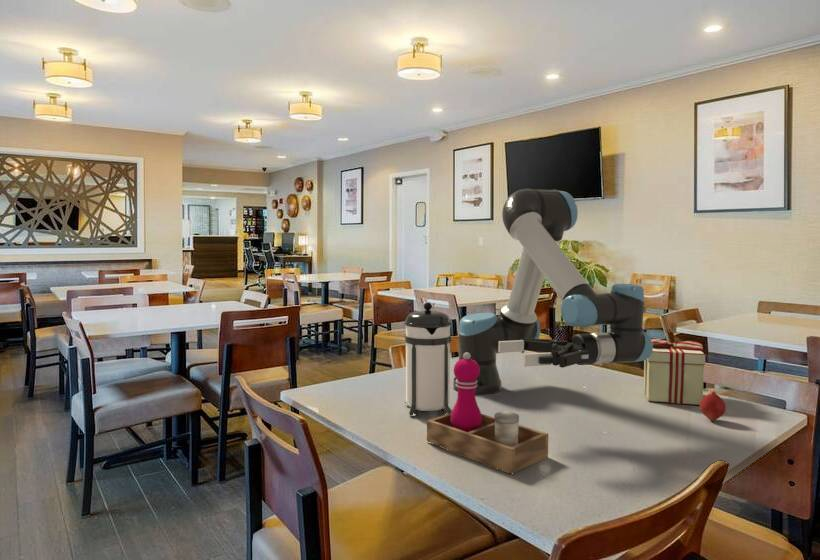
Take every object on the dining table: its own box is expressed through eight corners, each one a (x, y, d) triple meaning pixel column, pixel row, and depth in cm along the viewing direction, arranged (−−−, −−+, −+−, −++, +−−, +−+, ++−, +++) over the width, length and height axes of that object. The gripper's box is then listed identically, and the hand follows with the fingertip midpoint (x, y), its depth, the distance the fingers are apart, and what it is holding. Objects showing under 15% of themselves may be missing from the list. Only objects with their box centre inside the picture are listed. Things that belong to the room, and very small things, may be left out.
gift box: (690, 389, 171) (692, 335, 170) (708, 407, 153) (710, 346, 152) (632, 386, 175) (634, 333, 174) (643, 403, 157) (645, 344, 156)
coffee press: (468, 409, 151) (468, 301, 149) (430, 423, 140) (430, 307, 138) (421, 397, 163) (421, 297, 161) (383, 409, 152) (382, 301, 149)
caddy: (426, 442, 126) (426, 403, 126) (464, 429, 135) (464, 392, 135) (511, 474, 109) (512, 429, 108) (548, 457, 118) (548, 415, 117)
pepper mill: (480, 444, 122) (481, 356, 120) (448, 442, 123) (449, 354, 122) (482, 433, 129) (483, 349, 127) (452, 431, 130) (453, 348, 129)
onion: (694, 417, 144) (695, 387, 143) (715, 416, 145) (716, 387, 144) (708, 424, 138) (709, 393, 138) (730, 424, 139) (731, 393, 138)
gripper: (622, 377, 122) (535, 383, 116) (563, 352, 146) (489, 356, 140) (623, 344, 121) (537, 349, 115) (564, 324, 145) (490, 327, 139)
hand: (510, 353), depth 128 cm, fingers open, 13 cm apart
